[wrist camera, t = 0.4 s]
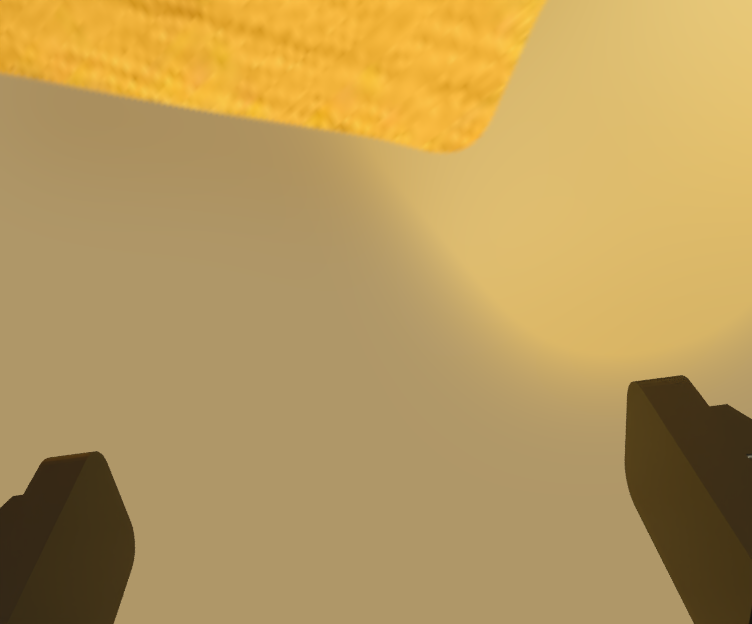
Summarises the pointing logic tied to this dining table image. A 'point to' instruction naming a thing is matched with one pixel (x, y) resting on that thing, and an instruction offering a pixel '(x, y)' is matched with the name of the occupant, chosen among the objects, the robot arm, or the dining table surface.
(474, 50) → the dining table surface
